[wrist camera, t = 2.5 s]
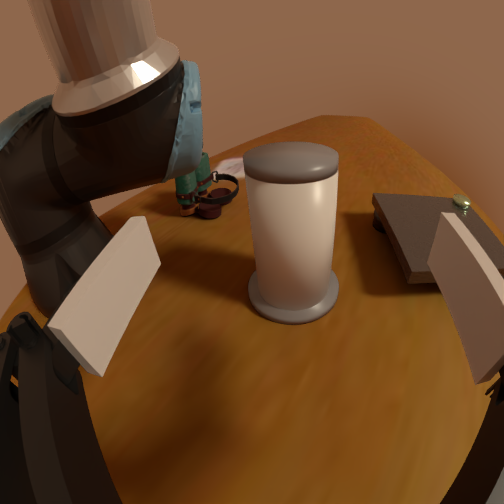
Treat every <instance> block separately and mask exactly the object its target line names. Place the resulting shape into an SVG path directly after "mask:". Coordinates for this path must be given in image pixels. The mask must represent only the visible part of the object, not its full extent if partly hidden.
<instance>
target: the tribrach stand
mask: <svg viewBox="0 0 504 504" xmlns="http://www.w3.org/2000/svg"><path fill="white" fill-rule="evenodd" d="M372 204H373V206H374V208H375V211H374V218H373V227H374V228H375V229H376V230H378V231H379V232H382V233H385V234H387V235H388V237H389V240H390V242H391V244H392V246H393V249H394V251H395V253H396V256H397V258H398V260H399V263H400V265H401V268H402V270H403V273H404V275H405V278H406V280H407V283H408V284H415V283H437V282H436V280H435V278H434V276H433V274H432V272H431V270H430V268H429V266H428V264H427V261H428V258H429V255H430V252H431V248H432V245H433V242H434V238H435V235H436V231H437V227H438V223H439V219H440V215H441V212H444V213H455V214H456V216H457V217H458V218H459V219H460V220H461V222H462V223H463V224H464V225H465V226H466V228H467V229H468V230H469V231H470V233H471V234H472V235H473V236H474V238H475V239H476V240H477V242H478V243H479V244H480V246H481V247H482V248H483V250H484V251H485V252H486V254H487V255H488V257H489V258H490V260H491V261H492V262H493V264H494V265H495V267H496V268H497V270H498V271H499V273H500V274H501V275H502V276H503V277H504V246H503V245H502V244H501V242H500V241H499V240H498V238H497V237H496V236H495V235H494V233H493V232H492V231H491V230H490V228H489V227H488V226H487V225H486V224H485V223H484V221H483V220H482V219H481V218H480V217H479V216H478V214H477V213H476V212H475V211H474V210H473V209H472V208H471V207H470V204H471V201H470V200H469V199H468V198H467V197H465V196H463V195H460V194H454V196H453V198H443V197H431V196H418V195H402V194H382V193H373V198H372Z"/></svg>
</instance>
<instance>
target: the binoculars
mask: <svg viewBox="0 0 504 504" xmlns="http://www.w3.org/2000/svg"><path fill="white" fill-rule="evenodd" d="M202 148H203V144H202ZM215 172H216V173H217V174H215V176H216V180H217V181H214V180H213V179H214V177H213V173H215ZM211 179H212V181H213V182H216V183H218V180H230V181H232V182H234V183H235V184H236V185H237V187H236V189H235V190H234V191H233V192H231V191H230V190H229V189H226V188H218V189H214V190H212V191H211V195H210V193H209V192H208V191H207V188H208V187H209V186H211V184H212V181H211ZM175 184H176V197H177V201H178V203H179V204H181V205H182V206H181V207H180V212H181V215H182V216H187V215H191V214H193V213H195V212H199V214H200V215H201V216H203V217H205V218H217V217H219V216H220V215H221V205H226V204H229V203H230V202H231V201H232V199H233V198H234V197H235V196H236V195H237V193H238V190H239V183H238V180H237V179H236V178H235V177H234V176H231V175H228V174H218V172H217V171H214V172H212V173H210V165H209V158H208V154H207V153H204V152H202V157H201V161H200V164H199V166H198V167H197V168H196V169H195V170H194V171H193V172H191V173H190V174H187V175H183V176H180V177H176V178H175ZM194 201H195V202H194ZM197 202H199V203H200V204H199V209H198V205H197Z"/></svg>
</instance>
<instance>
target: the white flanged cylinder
mask: <svg viewBox="0 0 504 504" xmlns="http://www.w3.org/2000/svg"><path fill="white" fill-rule="evenodd" d="M243 163H244V171H245V179H246V188H247V196H248V204H249V213H250V221H251V230H252V238H253V246H254V255H255V263H256V270H255V271H254V273H253V274H252V276H251V278H250V280H249V284H248V291H249V298H250V301H251V303H252V305H253V307H254V308H255V310H256V311H257V312H258V313H259V314H261V315H262V316H263V317H265V318H267V319H269V320H271V321H273V322H277V323H280V324H286V325H300V324H306V323H310V322H313V321H315V320H318V319H320V318H321V317H323V316H324V315H326V314H327V313H328V312H329V311H330V310H331V309H332V308H333V306H334V305H335V303H336V300H337V296H338V290H339V283H338V279H337V277H336V275H335V273H334V272H333V271H332V270H331V264H332V254H333V244H334V232H335V219H336V204H337V185H338V153H337V152H336V151H335V150H333V149H332V148H330V147H327V146H324V145H320V144H315V143H308V142H279V143H271V144H266V145H262V146H258V147H255V148H253V149H251V150H249V151H247V152H246V153H245V154H244V155H243Z"/></svg>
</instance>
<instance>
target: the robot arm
mask: <svg viewBox="0 0 504 504" xmlns="http://www.w3.org/2000/svg"><path fill="white" fill-rule="evenodd" d="M27 1H28V4H29V7H30V10H31V13H32V16H33V18H34V21H35V24H36V27H37V29H38V32H39V35H40V37H41V39H42V42H43V44H44V47H45V49H46V52H47V54H48V57H49V59H50V61H51V63H52V66H53V68H54V70H55V72H56V74H57V76H58V79H59V83H58V85H57V88H56V91H55V93H54V94H53V95H48V96H45V97H42V98H40V99H38V100H35V101H33V102H31V103H29V104H28V105H26V106H25V107H24V108H22V109H21V110H19V111H16V112H15V113H13V114H12V115H10V116H9V117H8V118H6V119H5V120H4V121H3V122H1V123H0V218H1V220H2V223H3V224H4V227H5V228H6V231H7V233H8V235H9V236H10V239H11V240H12V242H13V244H14V246H15V248H16V250H17V251H18V253H19V255H20V257H21V260H22V264H23V268H24V272H25V276H26V279H27V283H28V286H29V289H30V293H31V296H32V299H33V301H34V302H35V304H36V305H37V307H38V308H39V309H40V311H41V312H42V313H43V315H45V316H46V317H48V318H49V319H48V321H47V323H46V324H45V326H44V327H43V328H42V329H41V327H40V326H39V325H38V324H37V322H36V321H35V320H34V318H33V317H32V316H31V314H30V313H29V312H22V313H20V314H18V315H17V316H15V317H14V318H13V320H12V321H11V322H10V324H9V325H8V328H7V331H6V332H3V333H1V334H0V504H122V502H121V500H120V498H119V495H118V493H117V491H116V489H115V486H114V484H113V482H112V479H111V477H110V474H109V472H108V469H107V467H106V464H105V461H104V459H103V456H102V453H101V450H100V447H99V444H98V441H97V438H96V434H95V431H94V428H93V424H92V420H91V417H90V413H89V409H88V405H87V401H86V396H85V392H84V387H83V382H82V377H81V374H80V371H79V370H78V367H79V365H81V366H82V367H83V368H84V369H85V370H86V371H87V372H88V373H91V374H94V375H97V376H100V377H103V375H104V372H105V370H106V368H107V366H108V364H109V362H110V360H111V357H112V355H113V353H114V351H115V349H116V347H117V345H118V343H119V341H120V339H121V337H122V335H123V333H124V331H125V329H126V327H127V325H128V323H129V321H130V319H131V317H132V315H133V314H134V312H135V310H136V308H137V306H138V304H139V302H140V300H141V299H142V297H143V295H144V293H145V291H146V289H147V288H148V286H149V284H150V282H151V280H152V279H153V277H154V275H155V273H156V272H157V270H158V268H159V266H160V265H161V262H160V259H159V257H158V254H157V251H156V248H155V245H154V243H153V240H152V237H151V234H150V231H149V228H148V225H147V222H146V219H145V216H138V217H131V218H130V219H129V220H128V221H127V222H126V223H125V225H124V226H123V227H122V228H121V229H120V230H119V231H118V233H117V234H116V235H115V236H114V235H112V234H111V232H110V231H109V230H108V228H107V227H106V226H105V225H104V223H103V222H102V221H101V220H100V219H99V218H98V217H97V215H96V214H95V213H94V211H93V209H92V206H91V204H90V201H91V200H94V199H98V198H102V197H105V196H109V195H113V194H117V193H120V192H124V191H128V190H132V189H136V188H140V187H144V186H149V185H153V184H158V183H165V182H167V181H168V180H169V179H173V178H176V177H180V176H183V175H187V174H190V173H191V172H193V171H194V170H195V169H196V168H197V167H198V166H199V164H200V161H201V157H202V144H203V139H202V137H203V135H202V134H203V132H202V131H203V129H202V128H203V127H202V111H201V85H200V75H199V70H198V66H197V64H196V63H195V62H192V61H189V62H188V61H187V60H186V61H185V60H184V61H181V62H180V56H179V51H178V48H177V47H176V46H175V45H174V44H172V43H170V42H168V41H166V40H164V39H162V38H160V37H158V36H157V34H156V29H155V24H154V18H153V13H152V7H151V2H150V0H27ZM427 264H428V266H429V268H430V270H431V272H432V274H433V276H434V278H435V280H436V282H437V284H438V286H439V288H440V290H441V293H442V295H443V297H444V299H445V302H446V304H447V306H448V308H449V311H450V313H451V316H452V318H453V320H454V323H455V326H456V328H457V331H458V333H459V336H460V339H461V341H462V344H463V347H464V350H465V353H466V356H467V359H468V362H469V365H470V369H471V372H472V375H473V379H474V382H475V385H477V384H480V383H483V382H486V381H489V380H491V379H492V378H493V376H494V375H495V374H496V373H497V372H498V371H499V373H500V378H499V379H498V380H497V381H496V382H495V383H494V384H493V385H492V386H491V387H490V388H489V389H488V390H487V391H486V393H485V395H488V394H489V393H490V392H491V391H492V390H493V389H494V391H493V394H492V395H491V396H490V398H491V401H490V404H489V407H488V409H487V412H486V415H485V418H484V420H483V423H482V425H481V428H480V430H479V432H478V435H477V437H476V439H475V442H474V444H473V446H472V448H471V450H470V452H469V454H468V456H467V458H466V460H465V462H464V464H463V466H462V468H461V470H460V472H459V473H458V475H457V477H456V479H455V480H454V482H453V484H452V485H451V487H450V489H449V490H448V492H447V493H446V495H445V497H444V498H443V500H442V501H441V503H440V504H504V277H503V276H502V275H501V274H500V273H499V271H498V270H497V268H496V267H495V265H494V264H493V262H492V261H491V260H490V258H489V257H488V255H487V254H486V252H485V251H484V250H483V248H482V247H481V246H480V244H479V243H478V242H477V240H476V239H475V238H474V236H473V235H472V234H471V233H470V231H469V230H468V229H467V228H466V226H465V225H464V224H463V223H462V222H461V220H460V219H459V218H458V217H457V216H456V214H455V213H444V212H441V215H440V219H439V223H438V227H437V231H436V235H435V238H434V242H433V245H432V248H431V252H430V255H429V258H428V261H427ZM11 375H13V376H14V377H15V378H16V379H17V380H18V387H17V386H16V385H14V384H13V383H12V382H11V381H10V380H11Z"/></svg>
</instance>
